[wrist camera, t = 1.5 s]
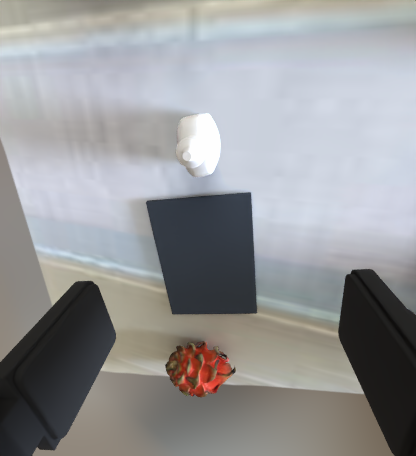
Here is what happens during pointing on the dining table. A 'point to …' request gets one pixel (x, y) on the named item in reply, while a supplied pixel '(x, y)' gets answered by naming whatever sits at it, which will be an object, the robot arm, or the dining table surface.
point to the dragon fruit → (198, 369)
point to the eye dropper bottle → (198, 144)
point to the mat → (206, 253)
